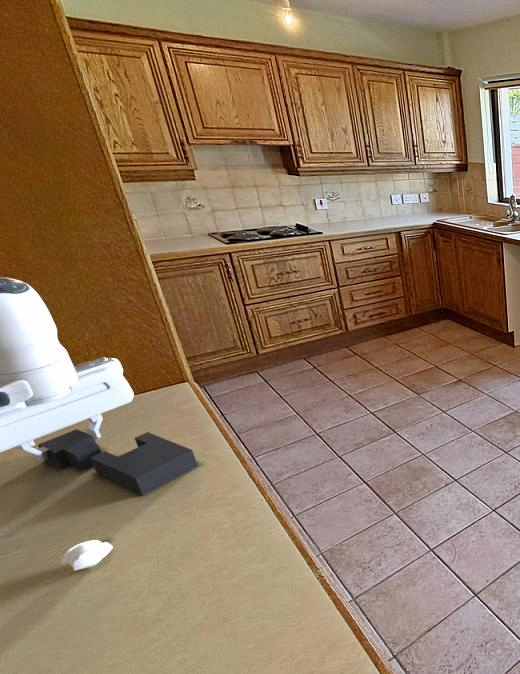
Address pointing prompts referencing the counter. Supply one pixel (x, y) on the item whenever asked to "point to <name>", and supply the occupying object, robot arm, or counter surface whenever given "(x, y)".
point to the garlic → (86, 554)
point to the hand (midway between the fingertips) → (69, 448)
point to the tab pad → (72, 450)
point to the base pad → (145, 464)
